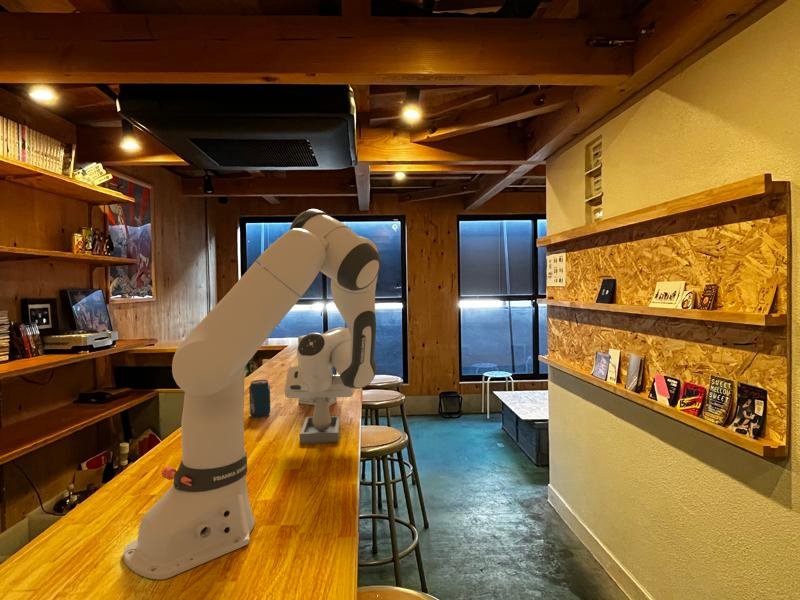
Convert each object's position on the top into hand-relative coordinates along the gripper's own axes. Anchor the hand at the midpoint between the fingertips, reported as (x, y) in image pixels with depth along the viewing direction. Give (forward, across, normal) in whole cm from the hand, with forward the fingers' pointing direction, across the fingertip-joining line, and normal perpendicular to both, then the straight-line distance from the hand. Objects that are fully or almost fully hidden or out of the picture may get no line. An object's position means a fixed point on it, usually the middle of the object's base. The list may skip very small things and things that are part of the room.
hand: (321, 400), depth 142 cm
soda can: (+21, +24, -7) cm, 33 cm away
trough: (+7, 0, +8) cm, 10 cm away
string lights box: (+32, +5, -17) cm, 36 cm away
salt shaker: (+6, 0, +7) cm, 9 cm away
